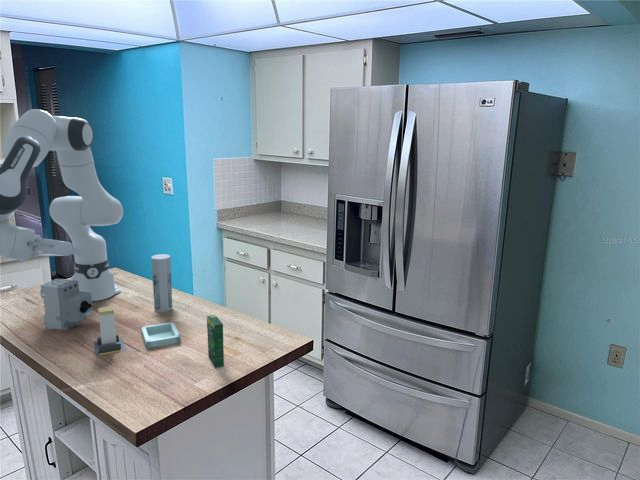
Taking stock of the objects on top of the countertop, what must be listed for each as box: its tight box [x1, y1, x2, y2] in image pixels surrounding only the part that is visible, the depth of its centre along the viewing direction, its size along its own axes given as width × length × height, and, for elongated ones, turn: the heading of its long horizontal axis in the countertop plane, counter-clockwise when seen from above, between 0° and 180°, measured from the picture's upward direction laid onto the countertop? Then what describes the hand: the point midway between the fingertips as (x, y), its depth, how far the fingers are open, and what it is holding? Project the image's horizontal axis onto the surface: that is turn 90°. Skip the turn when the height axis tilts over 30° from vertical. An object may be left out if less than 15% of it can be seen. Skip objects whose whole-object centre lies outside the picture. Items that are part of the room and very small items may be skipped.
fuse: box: [97, 305, 117, 345], centre depth 141 cm, size 4×4×12 cm
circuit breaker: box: [39, 277, 94, 331], centre depth 154 cm, size 8×14×15 cm, turn 78°
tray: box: [141, 321, 181, 349], centre depth 149 cm, size 12×10×3 cm
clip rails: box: [93, 333, 126, 357], centre depth 142 cm, size 10×8×2 cm
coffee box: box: [206, 314, 225, 369], centre depth 135 cm, size 8×3×13 cm, turn 27°
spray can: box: [150, 253, 173, 313], centre depth 171 cm, size 6×6×20 cm
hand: (76, 252), depth 136 cm, fingers open, 8 cm apart
